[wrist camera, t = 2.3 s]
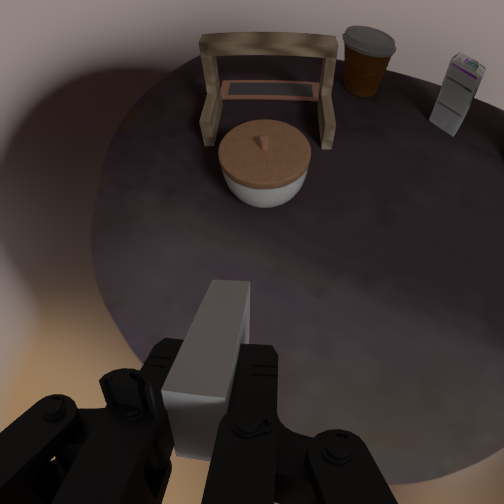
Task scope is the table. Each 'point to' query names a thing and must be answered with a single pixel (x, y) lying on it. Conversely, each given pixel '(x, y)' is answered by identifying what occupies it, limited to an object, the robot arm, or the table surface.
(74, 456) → the robot arm
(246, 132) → the lidded jar
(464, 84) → the syrup box
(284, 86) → the framed chalkboard
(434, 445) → the table surface
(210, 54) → the tunnel
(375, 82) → the disposable coffee cup
